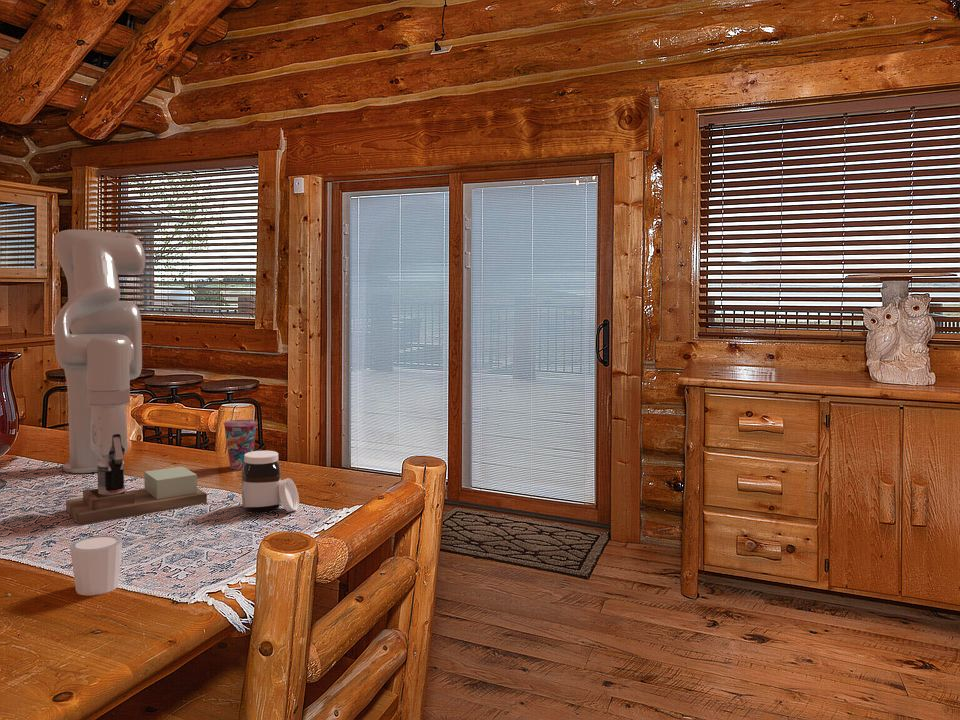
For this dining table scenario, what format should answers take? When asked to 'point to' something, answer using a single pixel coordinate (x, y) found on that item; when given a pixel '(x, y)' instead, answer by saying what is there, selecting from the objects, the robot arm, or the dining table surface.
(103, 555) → the white tapered cylinder
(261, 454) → the spread jar
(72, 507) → the housing
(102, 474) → the pill bottle
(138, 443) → the dining table surface
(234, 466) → the cup
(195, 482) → the pale green block
